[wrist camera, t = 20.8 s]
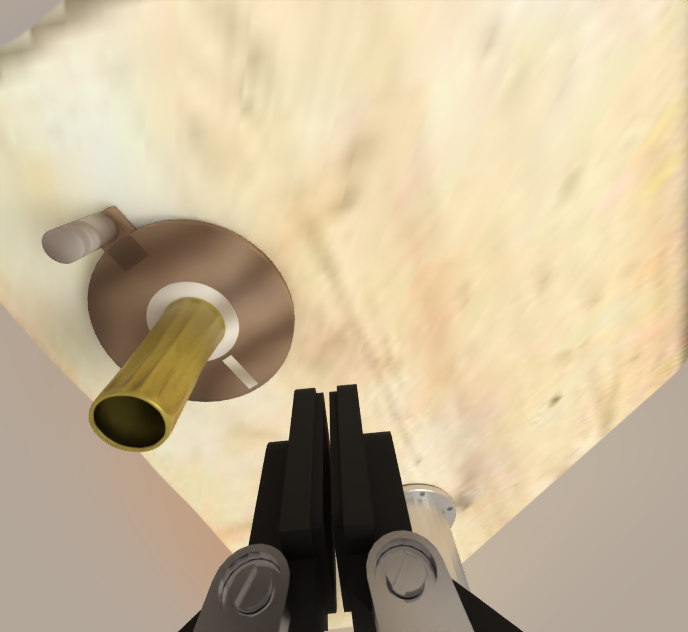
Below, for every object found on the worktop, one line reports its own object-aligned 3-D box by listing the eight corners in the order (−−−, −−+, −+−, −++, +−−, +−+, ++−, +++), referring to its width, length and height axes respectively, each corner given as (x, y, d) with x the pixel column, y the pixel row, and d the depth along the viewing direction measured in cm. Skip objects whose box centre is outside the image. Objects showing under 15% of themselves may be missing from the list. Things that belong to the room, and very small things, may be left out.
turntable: (333, 318, 40) (335, 356, 34) (214, 420, 46) (194, 471, 39) (151, 148, 32) (105, 153, 25) (32, 297, 38) (-32, 334, 31)
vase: (200, 360, 40) (141, 470, 27) (150, 323, 38) (61, 423, 25) (238, 325, 38) (195, 424, 25) (189, 284, 36) (115, 370, 23)
